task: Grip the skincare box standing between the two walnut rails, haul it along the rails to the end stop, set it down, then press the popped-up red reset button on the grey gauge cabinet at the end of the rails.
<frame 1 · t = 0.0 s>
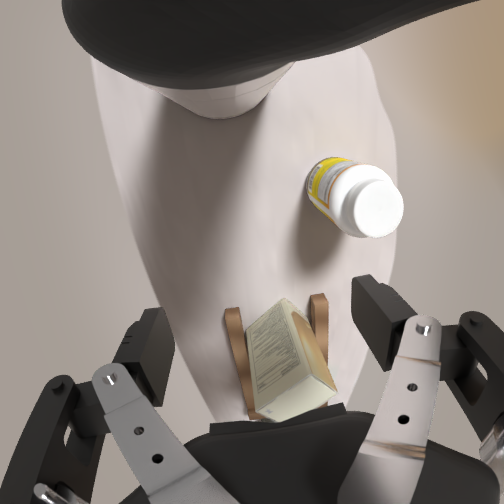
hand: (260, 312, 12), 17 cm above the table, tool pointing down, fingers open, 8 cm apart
supplement bottle: (331, 183, 28), on the table
rail: (281, 354, 35), on the table
skincare box: (277, 321, 33), on the table
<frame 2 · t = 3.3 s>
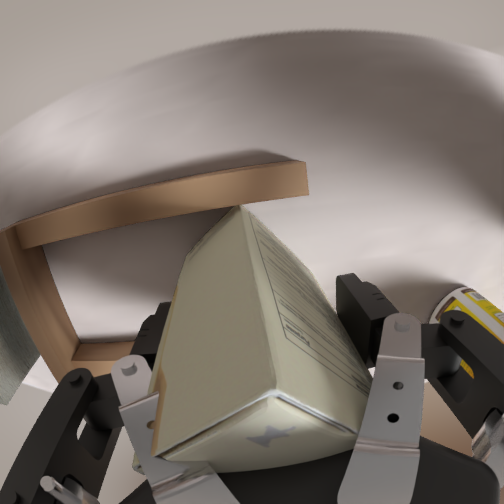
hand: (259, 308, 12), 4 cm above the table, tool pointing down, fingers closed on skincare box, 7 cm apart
supplement bottle: (450, 314, 19), on the table
rail: (166, 280, 16), on the table
skincare box: (252, 266, 16), on the table, touching gripper
gauge cabinet: (4, 301, 16), on the table
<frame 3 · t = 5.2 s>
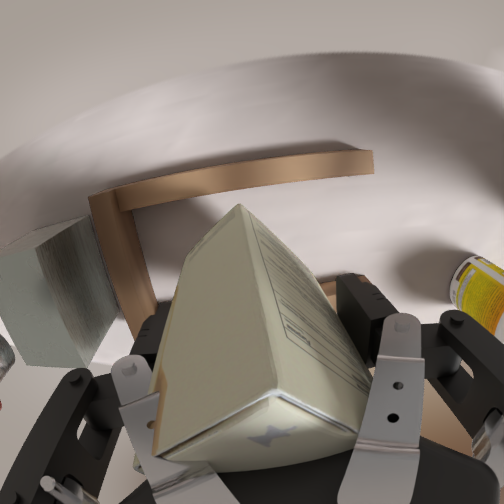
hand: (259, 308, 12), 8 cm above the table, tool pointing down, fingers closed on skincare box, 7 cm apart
supplement bottle: (465, 279, 23), on the table
rail: (254, 241, 20), on the table
skincare box: (253, 266, 16), point 4 cm above the table, touching gripper
gauge cabinet: (73, 271, 20), on the table
when the fingers open (5 cm above the table, at t = 7.6 s): skincare box stays where it is, on the table.
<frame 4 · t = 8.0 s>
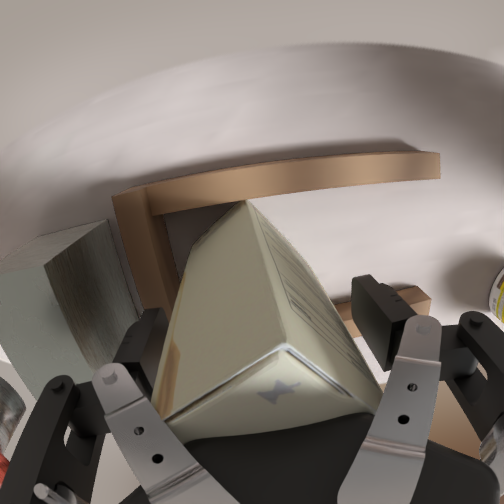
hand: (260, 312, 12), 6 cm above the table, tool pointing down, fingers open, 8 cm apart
supplement bottle: (502, 286, 20), on the table
rail: (310, 251, 17), on the table
skincare box: (254, 258, 17), on the table
gauge cabinet: (87, 285, 17), on the table
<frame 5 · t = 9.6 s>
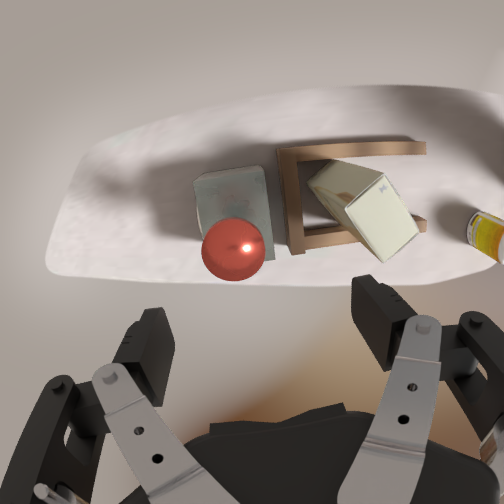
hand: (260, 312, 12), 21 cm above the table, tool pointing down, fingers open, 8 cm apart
supplement bottle: (476, 227, 34), on the table
rail: (362, 189, 31), on the table
skincare box: (335, 191, 32), on the table
reset button: (234, 241, 20), point 12 cm above the table, slide at 3.0 cm
gauge cabinet: (236, 205, 32), on the table
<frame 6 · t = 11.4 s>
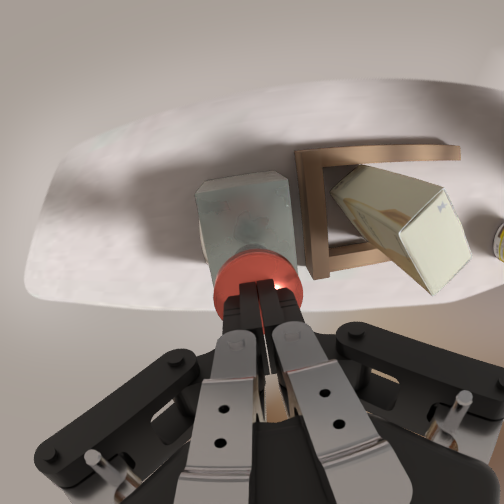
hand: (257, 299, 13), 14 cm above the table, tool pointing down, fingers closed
supplement bottle: (501, 239, 29), on the table
rail: (392, 199, 26), on the table
skincare box: (362, 202, 26), on the table
reset button: (255, 279, 15), point 12 cm above the table, slide at 2.9 cm, touching gripper
gauge cabinet: (246, 219, 26), on the table
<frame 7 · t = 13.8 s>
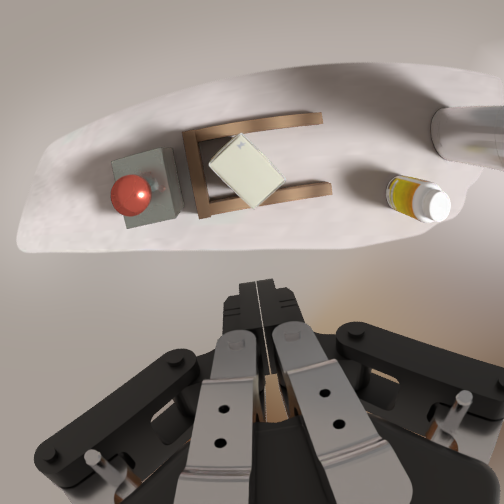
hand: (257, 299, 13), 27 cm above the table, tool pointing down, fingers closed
supplement bottle: (398, 192, 40), on the table
rail: (264, 160, 37), on the table
skincare box: (239, 164, 37), on the table
reset button: (135, 192, 28), point 10 cm above the table, slide at 0.4 cm
gauge cabinet: (156, 182, 37), on the table
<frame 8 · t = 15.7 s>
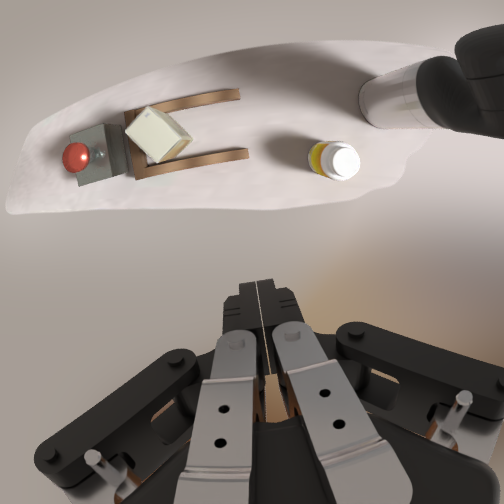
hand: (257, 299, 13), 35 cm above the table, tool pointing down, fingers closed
supplement bottle: (323, 158, 45), on the table
rail: (192, 132, 42), on the table
skincare box: (172, 136, 42), on the table
reset button: (81, 156, 33), point 10 cm above the table, slide at 0.4 cm
gauge cabinet: (108, 153, 42), on the table
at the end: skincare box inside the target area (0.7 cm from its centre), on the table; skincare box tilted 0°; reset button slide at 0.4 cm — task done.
